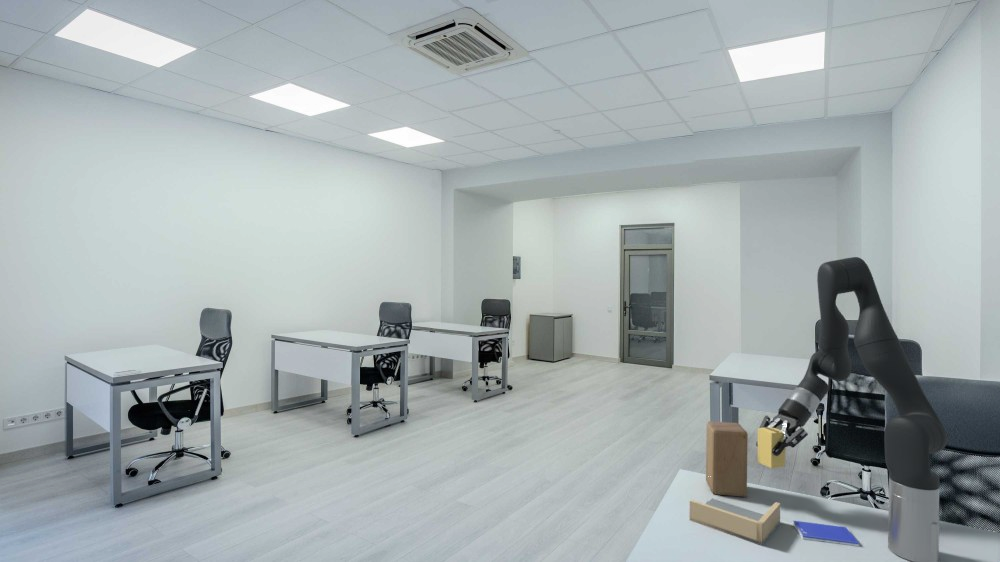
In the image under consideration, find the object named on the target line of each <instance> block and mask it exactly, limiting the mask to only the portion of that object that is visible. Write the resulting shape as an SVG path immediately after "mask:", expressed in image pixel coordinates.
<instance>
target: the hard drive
mask: <svg viewBox="0 0 1000 562" xmlns="http://www.w3.org/2000/svg"><path fill="white" fill-rule="evenodd" d="M792 525H793V526H794V529H796V531H797V533H798V535H799V536H800V537H801V539H802V540H808V541H814V540H815V541H816V542H821V541H826V542H825V543H829V542H835V543H834V544H837V543H840V544H839V545H845V544H846V546H852V547H860V543H859V541H858V540H857V538H856V537H855V536H854V535H853V534H852V533H851V532H850V530H849V529H848V528H847V527H846V526H839V525H831V524H824V523H823V524H822V523H817V522H816V523H815V522H808V521H801V520H792Z"/></svg>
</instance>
